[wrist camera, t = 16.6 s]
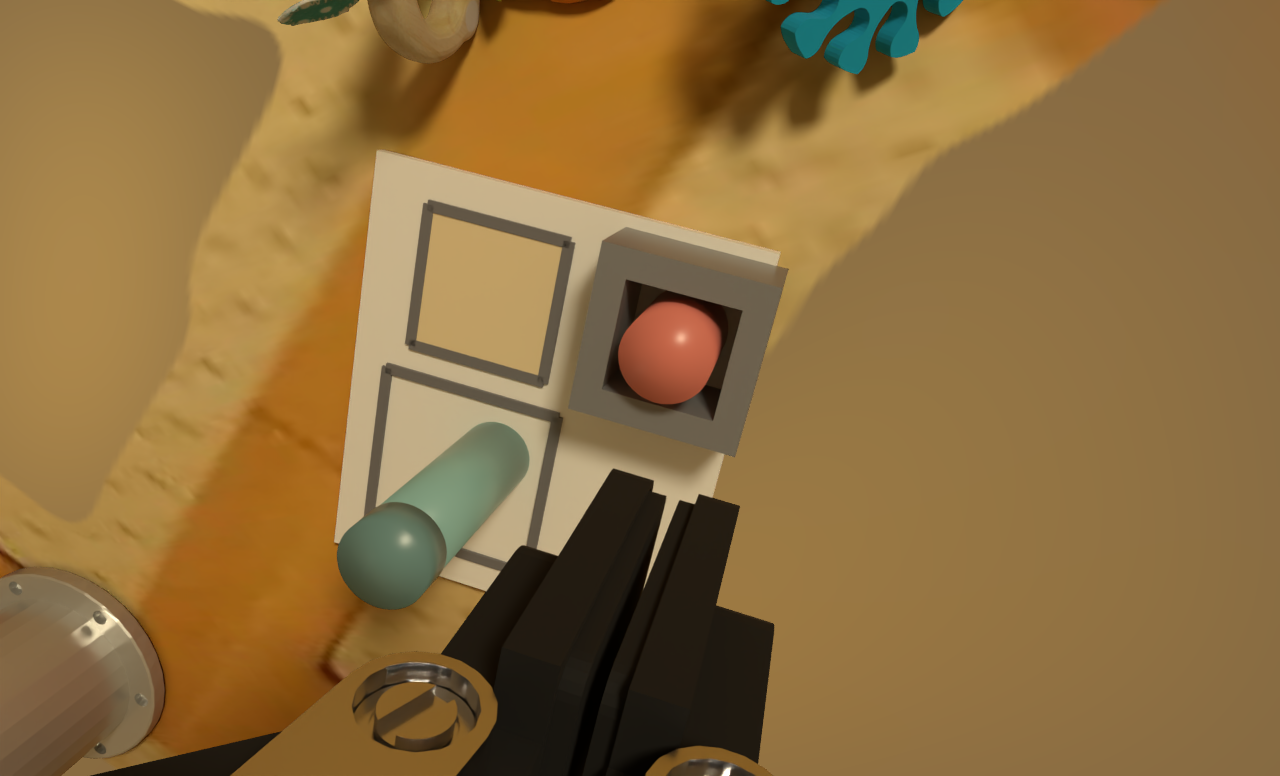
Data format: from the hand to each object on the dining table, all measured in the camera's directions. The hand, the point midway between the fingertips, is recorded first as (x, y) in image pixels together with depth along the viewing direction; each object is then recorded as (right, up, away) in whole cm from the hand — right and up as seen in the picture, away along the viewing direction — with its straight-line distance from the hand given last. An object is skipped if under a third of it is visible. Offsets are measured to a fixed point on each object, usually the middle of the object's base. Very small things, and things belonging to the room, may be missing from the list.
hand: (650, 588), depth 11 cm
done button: (+2, +5, +26) cm, 27 cm away
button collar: (+2, +5, +26) cm, 27 cm away
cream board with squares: (-5, +2, +30) cm, 30 cm away
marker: (-7, -1, +30) cm, 31 cm away
